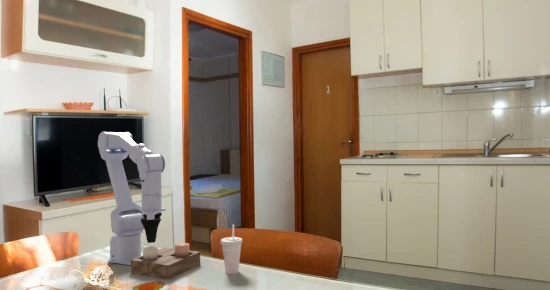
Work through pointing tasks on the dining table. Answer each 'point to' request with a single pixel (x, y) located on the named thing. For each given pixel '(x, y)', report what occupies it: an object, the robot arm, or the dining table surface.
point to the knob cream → (150, 252)
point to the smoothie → (231, 252)
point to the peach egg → (182, 250)
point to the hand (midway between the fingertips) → (151, 239)
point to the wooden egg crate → (165, 264)
